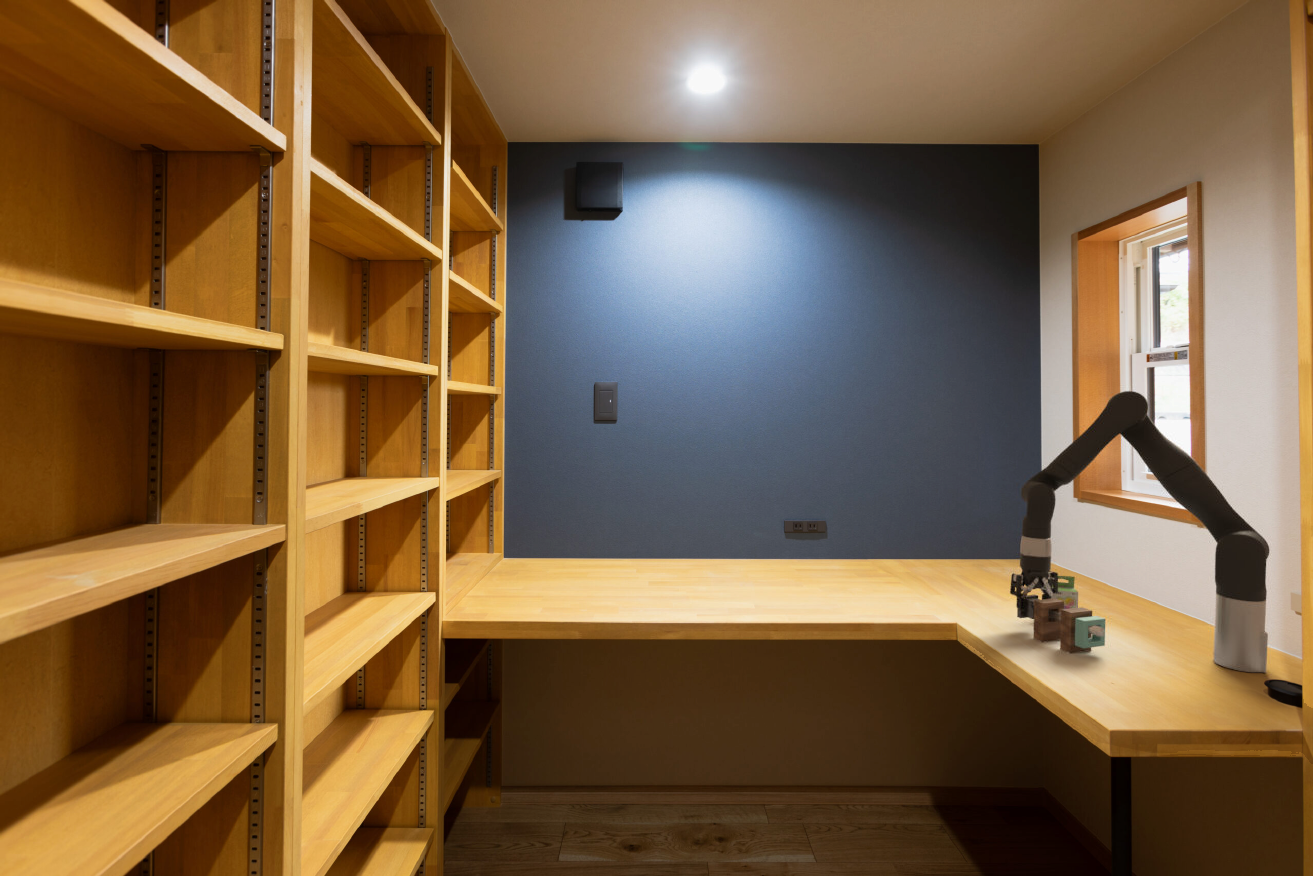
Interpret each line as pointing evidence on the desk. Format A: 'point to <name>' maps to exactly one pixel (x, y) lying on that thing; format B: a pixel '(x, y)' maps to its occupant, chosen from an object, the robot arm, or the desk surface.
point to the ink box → (1067, 592)
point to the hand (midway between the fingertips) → (1033, 609)
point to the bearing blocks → (1058, 624)
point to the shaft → (1052, 615)
